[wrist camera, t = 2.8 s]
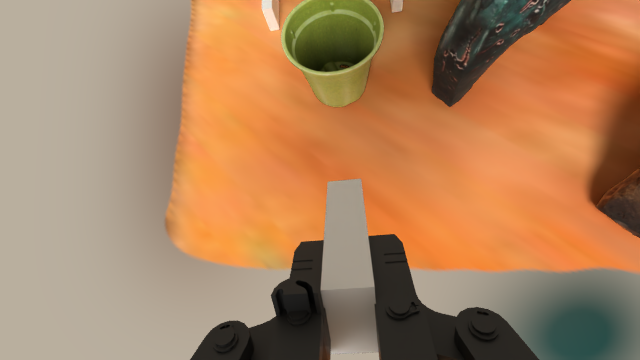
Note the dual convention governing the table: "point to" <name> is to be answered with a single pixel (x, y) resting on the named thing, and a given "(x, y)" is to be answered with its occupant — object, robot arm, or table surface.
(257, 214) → the table surface
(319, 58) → the plant pot
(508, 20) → the ceramic cat
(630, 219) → the decorative rock
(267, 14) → the white u-shaped frame
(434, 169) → the table surface
